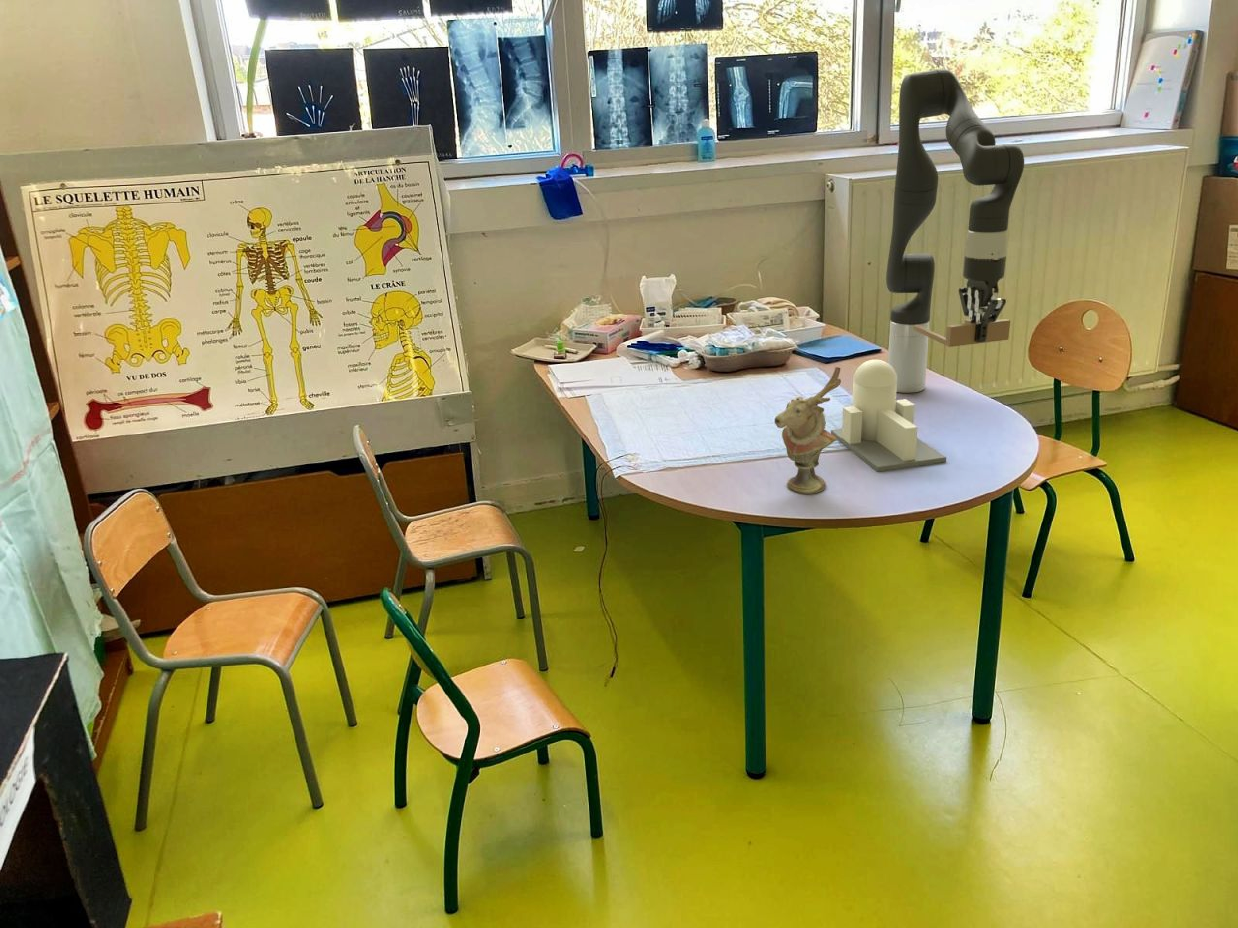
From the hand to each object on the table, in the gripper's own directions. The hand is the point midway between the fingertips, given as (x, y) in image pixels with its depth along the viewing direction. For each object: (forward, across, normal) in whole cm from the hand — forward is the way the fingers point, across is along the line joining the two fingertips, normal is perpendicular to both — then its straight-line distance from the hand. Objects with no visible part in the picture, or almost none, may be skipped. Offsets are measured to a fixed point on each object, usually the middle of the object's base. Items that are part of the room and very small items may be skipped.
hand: (977, 340), depth 186 cm
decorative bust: (+23, +8, -41) cm, 48 cm away
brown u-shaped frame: (0, -7, 0) cm, 7 cm away
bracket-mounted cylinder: (+23, -5, -16) cm, 28 cm away
